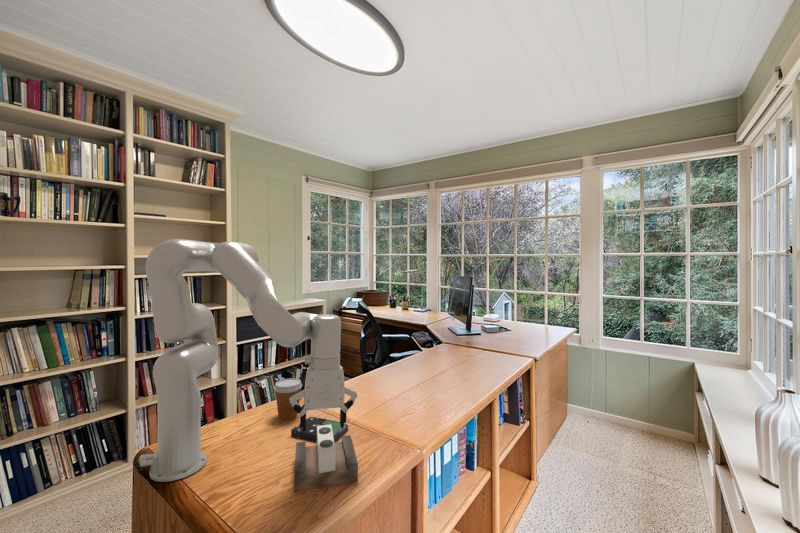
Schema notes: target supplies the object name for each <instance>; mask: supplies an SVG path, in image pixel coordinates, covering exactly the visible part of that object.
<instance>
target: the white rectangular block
mask: <svg viewBox="0 0 800 533" xmlns="http://www.w3.org/2000/svg"><path fill="white" fill-rule="evenodd" d="M316 445H317V454H318V470H319V473H324V472H331V471H335V460H336V450H335V444H334V438H333V432H332V425H331V424H330V425H322V426H317V442H316Z"/></svg>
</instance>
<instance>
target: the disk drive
mask: <svg viewBox="0 0 800 533" xmlns="http://www.w3.org/2000/svg"><path fill="white" fill-rule="evenodd" d="M330 424H331V425H332V432H333V438H334V443H336V442H338V440H339V439H340V438H342V436H345V433H347V432H348V431H349V425H348V424H347V423H344V428H341V426H340V421H337V420H330V419H325V418H320V417H315V416H308V418H306V431H305V432H303V427H300V424H299V425H298V426H294V427H293V428H291V431H290V432H291V434H290V436H291V437H292V438H295V439H300V440H305V441H309V442H314V443H317V426H322V425H330Z"/></svg>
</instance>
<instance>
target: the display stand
mask: <svg viewBox="0 0 800 533" xmlns="http://www.w3.org/2000/svg"><path fill="white" fill-rule="evenodd" d="M306 441H307V440H305V441H299V442H295V454H294V455H295V456H294V458H295V460H294V471H293V472H294V478H293V479H294V481H293V482H294V483H293V484H294V488H293V489H294V490H293V491H294V492H295V493H297V492H302V491H308V490H314V489H320V488H326V487H330V486H337V485H342V484H343V485H344V484H348V483H354V482H355V481H356V482H359V481H358V480H359V476H358V475H359V463H358V459H357V458H358V457H357V454H356V450H355V447H354V443H353V439H352V435H351V434H350V435H342V436H341V441H336V442H335V443H334V444H335V450H336V460H335V471H331V472H324V473H319V470H318V454H317V444H315V445H308V446H307V445H306Z"/></svg>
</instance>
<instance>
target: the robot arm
mask: <svg viewBox="0 0 800 533" xmlns="http://www.w3.org/2000/svg"><path fill="white" fill-rule="evenodd" d="M256 250H257V249H255V248H254V247H253V246H251V245H249V244H247V243H244V242H238V241H222V242H207V241H199V240H193V239H184V238H173V239H172V238H171V239H168V240H164V241H161V242H160V243H159V244H157V245H156V246H154V247H153V248H152V249H151V251H150V252H149V254H148V255H147V258H146V260H145V274H146V279H147V282H148V286H149V291H150V297H151V298H150V299H151V308H152V316H153V317H152V318H153V322H154V323H153V324H154V331H155V334H156V337H157V338H158V340H160V342H162V343H165V344H175V343H179V342H183V344H182V345H179V346H176V347H173V348H172V349H168V350H167V351H164V352H163V353H162V354H161V355H160V356H159V357H158V358H157V359H156V360H155V362H154V363H153V364H154V365H153V367H152V377H153V382H154V385H155V390H156V391H155V392H156V398H157V399H156V403H157V404H156V406H157V409H156V412H157V418H156V419H157V432H156V434H157V437H156V438H157V439H156V440H157V442H156V444H157V445H156V448H157V450H156V451H155V452H154V453H146V454H141V455H140V456H139V458H138V463H139V467H140V468H143V467H148V466H150V470H149V472H148V473H149V479H151V480H152V481H155V482H159V483H160V482H161V483H166V482H168V483H169V482H172V481H173V482H174V481H177V480H178V481H179V480H181V479H184V478H187V477H189V476H191V475H193V474H195V473H197V472H199V471H200V470H201V469H203V467H204V466H205V465H206V463H207V460H208V454H207V453H206V452H205V451H203V450H201V441H202V440H201V424H202V423H201V419H202V416H201V414H202V412H201V409H202V407H201V406H202V404H201V402H202V401H201V400H202V399H201V391H200V388H199V386H198V384H197V383H198V382H197V380H196V379H197V378H198V377H199V376H201V375H203V374H205V373H206V372H208V371H210V370H212V369H213V367H214V366H215V365H216V364H217V362H218V358H219V346H218V339H217V330H216V328H217V327H216V323H215V317H214V315H213V314H214V313H212V311H211V310H210V308H209V307H207V306H206V305H204V304H202V303H198V302H194V303H193V302H192V300H191V298H192V297H191V292H190V291H191V290H190V286H189V284H188V282H187V281H186V279H185V277H184V276H183V274H184V273H186V272H190V273H191V272H193V273H195V272H196V273H197V272H214V273H215V272H217V273H219V274H220V275H221V276H222V277H223V278H224V279H225V280H226V281H227V282H228V283H229V284H230V285H231V286H232V287H233V288H234V289H235V290H236V291H237V292H238V293H239V294H240V295H241V296H242V297H243V299H245V301H246V303H247V305H248V309H249V311H250V313H251V315H252V318H253V319H254V320H255V322H256V323H257V325H258V326H259V328H261V330H263V332H265V334H266V335H267V336H269V338H270V339H272V341H274V342H275V343H276V344H277V345H279V346H281V347H283V348H293V347H296V346H298V345H300V344H301V343H303V342H304V341H306V340H310V341H311V342H310V356H309V357H308V358H304V364H305V365H309V366H308V367H307V370H306V373H305V374H306V375H305V380H304V389H301V390H300V392H299V393H297V394H295V395H293V396H291V397H290V400H289V401H290V403H291V405H292V406H293V409H294V410H295V411H296V412H297V415H299V416H300V419H299V422H300V423H299V425H300V427H303V432H305V431H306V419H307V412H308V411H309V410H310V411H311V410H312V411H316V410H325V409H326V410H327V409H328V410H329V409H338V408H339V409H340V410H339V411H340V412H339V414H340V415H339V422H340V426H341V428H344V423H345V424H347V412H349V410H350V408H352V406H354V403H355V401H356V399H357V398H358V392H356V391H354V390H352V389H349V388H347V387H345V375H344V373H345V372H344V369H343V368H344V367H343V366H342V365H341V335H342V334H341V333H342V319H341V318H340V316H339V315H338V314H337V315H336V314H330V313H329V314H326V313H324V314H323V313H322V314H316V313H310V312H305V311H300V312H295V313H290V312H289V311H288V310H287V308H286V307H285V306H283V304H282V302H280V300H279V299H278V298H277V295H276V294H275V290H274V288H275V287H274V286H275V281H274V278H273V277H272V276H271V275H270V274H269V273H268V271H266V270H265V269H264V268H263V267H262V266H261V265H260V264H259V254H258V252H257V251H256ZM345 395H347V396H349V399H348V400H347V401H346V402H345ZM302 398H303V404H302V405H300V403H299V404H298V403H297V400H298V399H299V400H301V399H302Z"/></svg>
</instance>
